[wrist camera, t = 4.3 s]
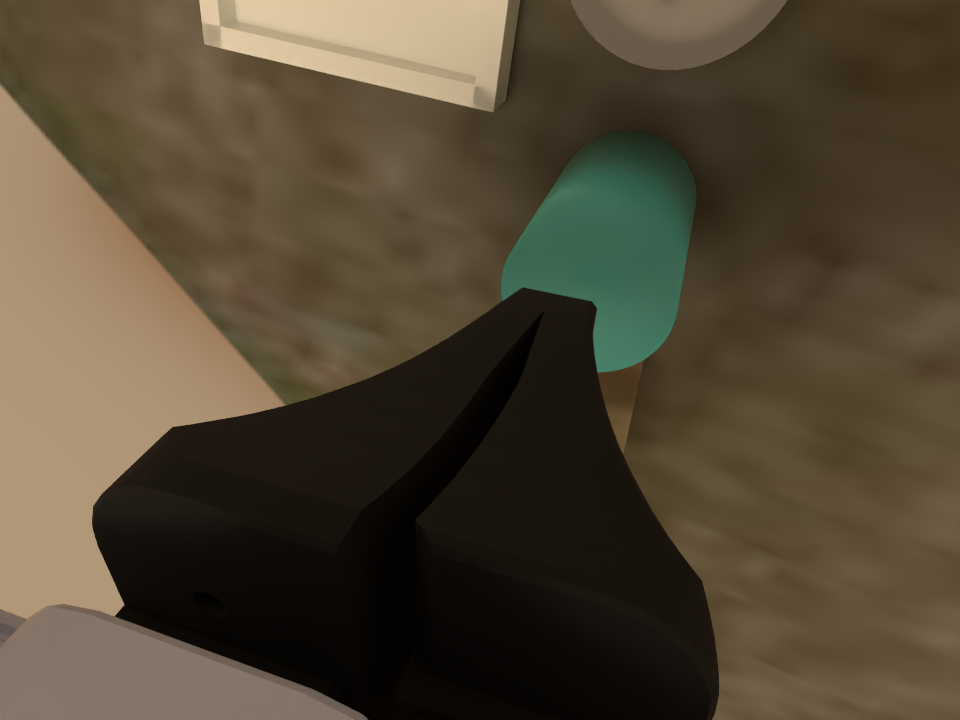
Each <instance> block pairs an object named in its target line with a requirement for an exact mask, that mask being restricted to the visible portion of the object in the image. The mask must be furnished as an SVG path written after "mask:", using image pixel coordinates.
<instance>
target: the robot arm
mask: <svg viewBox="0 0 960 720" xmlns="http://www.w3.org/2000/svg"><path fill="white" fill-rule="evenodd" d="M596 313H597V308H596V306H595V305H594V303H593V302H592V301H588V300H583V299H578V298H573V297H568V296H564V295H559V294H554V293H549V292H544V291H539V290H534V289H529V288H524V287H523V288H521V289H519V290H518V291H516V292H515V293H513V294H512V295H510V296H509V297H508V298H506V299H505V300H503V301H502V302H501V303H499V304H498V305H496V306H495V307H494V308H492V309H491V310H489V311H488V312H486V313H485V314H484V315H482V316H481V317H479V318H478V319H476V320H475V321H473V322H472V323H470V324H469V325H467V326H466V327H464V328H463V329H461V330H460V331H458V332H457V333H455V334H454V335H452V336H451V337H449V338H447V339H446V340H444V341H442V342H440V343H439V344H437V345H435V346H433V347H432V348H430V349H428V350H427V351H425V352H423V353H421V354H420V355H418V356H416V357H414V358H412V359H410V360H408V361H406V362H404V363H402V364H400V365H398V366H396V367H393V368H391V369H389V370H387V371H384V372H382V373H380V374H378V375H375V376H373V377H371V378H368V379H366V380H363V381H361V382H358V383H355V384H352V385H349V386H346V387H343V388H341V389H338V390H335V391H332V392H329V393H326V394H323V395H321V396H318V397H315V398H311V399H308V400H304V401H301V402H297V403H293V404H290V405H286V406H282V407H278V408H275V409H270V410H266V411H262V412H257V413H253V414H248V415H244V416H238V417H232V418H226V419H221V420H215V421H209V422H203V423H197V424H191V425H185V426H178V427H172V428H171V429H170V430H169V431H168V432H167V433H166V434H164V435H163V436H162V437H161V438H160V439H159V440H158V441H157V442H156V443H155V444H154V445H153V446H152V447H151V448H150V449H149V450H148V451H147V452H145V453H144V454H143V455H142V456H141V457H140V458H139V459H138V460H137V461H136V462H135V463H134V464H133V465H132V466H131V467H130V468H129V469H128V470H127V471H125V472H124V473H123V474H122V475H121V476H120V477H119V478H118V479H117V480H116V481H115V482H114V483H113V484H112V485H111V486H110V487H109V488H108V489H107V490H106V491H105V492H103V494H102V495H101V496H100V497H99V499H98V500H97V502H96V503H95V505H94V506H93V516H92V526H93V531H94V534H95V538H96V541H97V544H98V547H99V549H100V551H101V554H102V556H103V558H104V560H105V562H106V565H107V567H108V569H109V571H110V574H111V576H112V578H113V580H114V582H115V585H116V587H117V589H118V591H119V593H120V596H121V598H122V600H123V602H124V604H125V605H124V606H123V607H122V609H121V610H120V611H119V612H118V613H117V614H116V616H115V617H114V616H111V615H109V614H106V613H103V612H100V611H96V610H91V609H86V608H81V607H76V606H71V605H66V604H60V605H51V606H47V607H45V608H43V609H42V610H40V611H38V612H37V613H35V614H33V615H32V616H30V617H29V618H28V619H25V618H22V617H19V616H17V615H14V614H12V613H9V612H6V611H4V610H1V609H0V720H712V718H713V716H714V714H715V710H716V706H717V702H718V696H719V673H718V662H717V652H716V645H715V638H714V632H713V627H712V622H711V617H710V612H709V608H708V604H707V600H706V595H705V591H704V587H703V583H702V581H701V579H700V578H699V577H698V576H697V574H696V573H695V572H694V570H693V569H692V568H691V566H690V565H689V564H688V563H687V561H686V560H685V559H684V557H683V556H682V555H681V553H680V552H679V551H678V549H677V548H676V546H675V545H674V544H673V542H672V541H671V539H670V538H669V536H668V535H667V533H666V532H665V530H664V529H663V527H662V526H661V524H660V522H659V521H658V519H657V518H656V516H655V515H654V513H653V511H652V510H651V508H650V506H649V504H648V503H647V501H646V499H645V497H644V495H643V493H642V491H641V490H640V488H639V486H638V484H637V482H636V480H635V478H634V477H633V475H632V473H631V471H630V469H629V467H628V465H627V463H626V460H625V458H624V456H623V453H622V451H621V449H620V446H619V444H618V441H617V439H616V436H615V434H614V431H613V428H612V425H611V423H610V419H609V416H608V413H607V410H606V407H605V403H604V399H603V395H602V391H601V387H600V383H599V378H598V373H597V366H596V360H595V354H594V343H593V330H594V325H595V319H596Z"/></svg>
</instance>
